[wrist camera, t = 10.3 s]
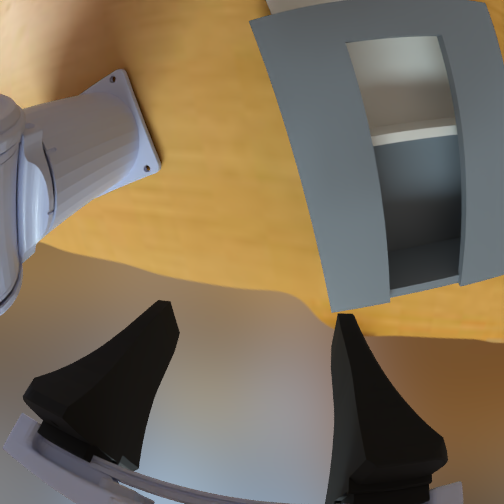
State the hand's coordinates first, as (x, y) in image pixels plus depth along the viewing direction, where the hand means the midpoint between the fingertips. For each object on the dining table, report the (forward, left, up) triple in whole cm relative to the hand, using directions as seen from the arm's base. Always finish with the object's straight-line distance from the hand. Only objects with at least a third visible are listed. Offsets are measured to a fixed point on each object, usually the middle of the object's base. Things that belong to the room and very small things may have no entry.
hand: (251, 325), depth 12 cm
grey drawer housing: (+9, +4, -9) cm, 14 cm away
